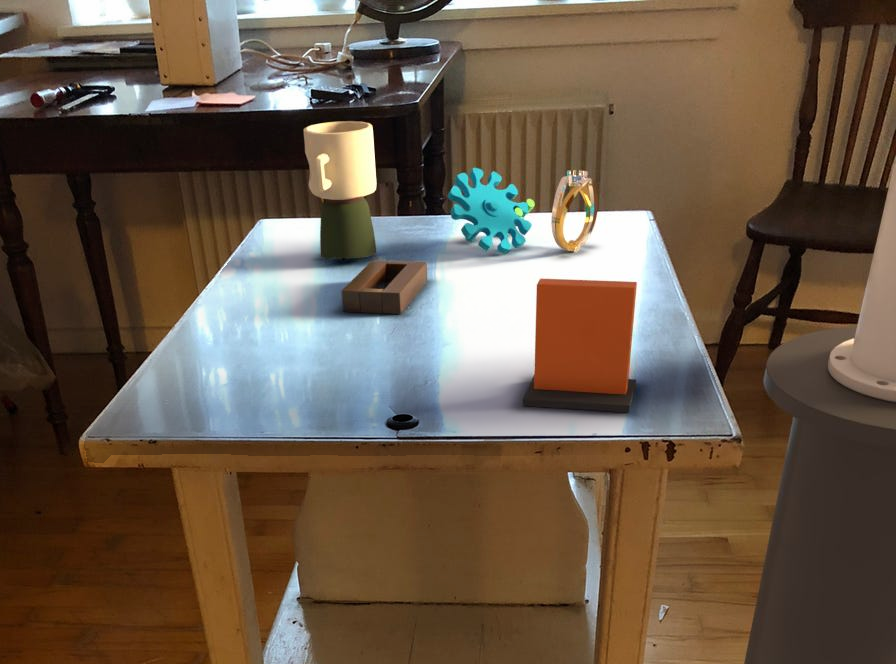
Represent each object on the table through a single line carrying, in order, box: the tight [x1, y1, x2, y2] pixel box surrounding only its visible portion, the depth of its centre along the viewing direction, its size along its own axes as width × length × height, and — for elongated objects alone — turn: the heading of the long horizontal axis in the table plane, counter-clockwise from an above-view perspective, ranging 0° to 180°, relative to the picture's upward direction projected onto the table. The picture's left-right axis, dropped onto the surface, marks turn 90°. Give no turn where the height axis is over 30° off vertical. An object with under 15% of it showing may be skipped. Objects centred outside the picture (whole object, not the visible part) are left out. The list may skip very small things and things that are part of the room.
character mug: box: [303, 120, 378, 263], centre depth 103 cm, size 11×7×13 cm, turn 158°
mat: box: [522, 375, 637, 414], centre depth 75 cm, size 8×5×1 cm, turn 74°
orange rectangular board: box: [533, 278, 638, 395], centre depth 72 cm, size 1×7×8 cm, turn 74°
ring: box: [550, 169, 599, 253], centre depth 103 cm, size 7×3×8 cm, turn 134°
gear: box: [447, 167, 536, 255], centre depth 108 cm, size 11×6×10 cm
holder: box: [340, 259, 429, 315], centre depth 96 cm, size 6×10×2 cm, turn 164°
